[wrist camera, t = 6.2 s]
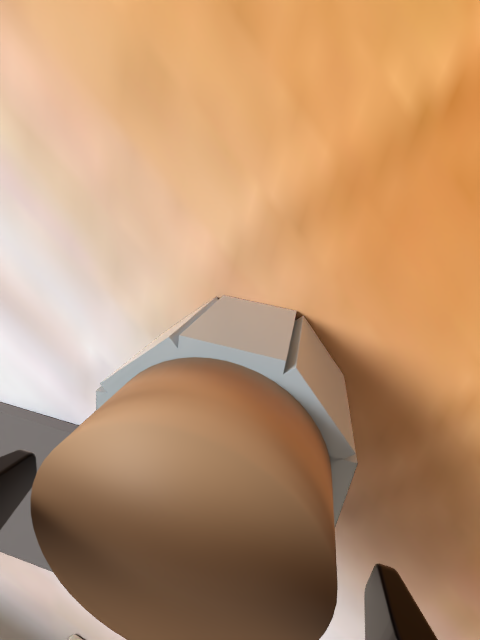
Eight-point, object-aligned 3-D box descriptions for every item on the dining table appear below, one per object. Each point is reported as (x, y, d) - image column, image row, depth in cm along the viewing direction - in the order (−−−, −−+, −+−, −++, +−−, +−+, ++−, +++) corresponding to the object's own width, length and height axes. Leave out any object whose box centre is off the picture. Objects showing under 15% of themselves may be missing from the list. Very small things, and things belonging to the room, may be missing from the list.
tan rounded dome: (302, 579, 11) (297, 709, 8) (105, 513, 12) (40, 608, 9) (361, 392, 8) (383, 485, 5) (106, 332, 9) (17, 384, 7)
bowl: (313, 485, 15) (311, 592, 11) (153, 438, 16) (95, 517, 12) (362, 325, 12) (385, 385, 8) (165, 282, 13) (96, 315, 9)
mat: (131, 588, 20) (126, 600, 20) (-22, 531, 22) (-31, 539, 21) (141, 444, 16) (134, 452, 16) (-45, 388, 18) (-56, 394, 18)
